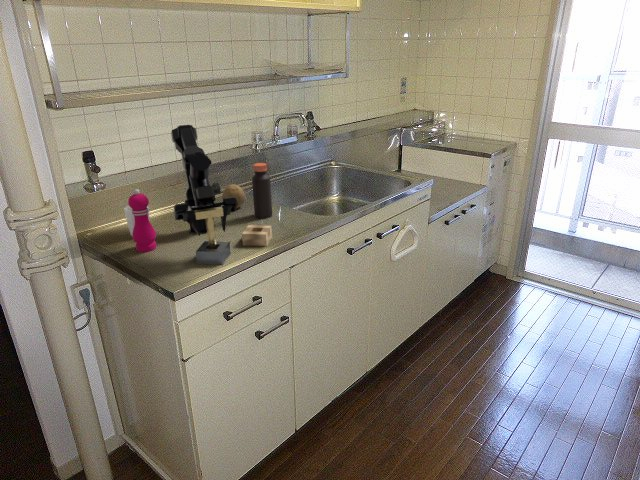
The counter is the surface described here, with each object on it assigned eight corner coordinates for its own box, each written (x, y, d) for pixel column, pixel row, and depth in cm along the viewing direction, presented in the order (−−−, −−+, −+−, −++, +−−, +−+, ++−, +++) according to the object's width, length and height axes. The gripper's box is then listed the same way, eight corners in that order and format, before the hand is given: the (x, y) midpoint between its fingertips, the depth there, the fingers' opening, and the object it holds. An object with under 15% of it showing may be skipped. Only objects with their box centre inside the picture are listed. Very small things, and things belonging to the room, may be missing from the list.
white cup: (129, 239, 161) (124, 212, 157) (128, 232, 168) (123, 205, 164) (153, 235, 164) (149, 208, 160) (151, 228, 170) (147, 202, 167)
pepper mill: (144, 254, 149) (134, 193, 141) (130, 249, 153) (118, 190, 145) (162, 246, 155) (153, 187, 147) (148, 242, 158) (138, 184, 151)
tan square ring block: (242, 245, 154) (241, 233, 153) (249, 235, 162) (248, 225, 160) (266, 245, 153) (265, 234, 152) (272, 236, 161) (271, 225, 159)
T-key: (201, 258, 142) (195, 212, 137) (200, 255, 144) (194, 210, 139) (227, 253, 145) (222, 208, 139) (225, 250, 147) (221, 206, 141)
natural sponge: (218, 210, 188) (215, 185, 185) (232, 203, 196) (229, 180, 192) (236, 213, 184) (234, 188, 181) (250, 206, 192) (248, 182, 188)
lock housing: (197, 263, 142) (195, 251, 140) (206, 252, 149) (204, 241, 148) (222, 264, 141) (221, 252, 139) (230, 253, 148) (229, 241, 147)
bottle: (264, 211, 185) (261, 161, 178) (276, 215, 181) (273, 164, 173) (251, 215, 181) (247, 164, 173) (262, 219, 177) (258, 167, 169)
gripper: (169, 178, 135) (180, 226, 130) (233, 170, 142) (245, 216, 137) (170, 196, 145) (180, 242, 140) (230, 189, 152) (241, 232, 147)
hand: (212, 233), depth 141 cm, fingers closed on T-key, 7 cm apart
